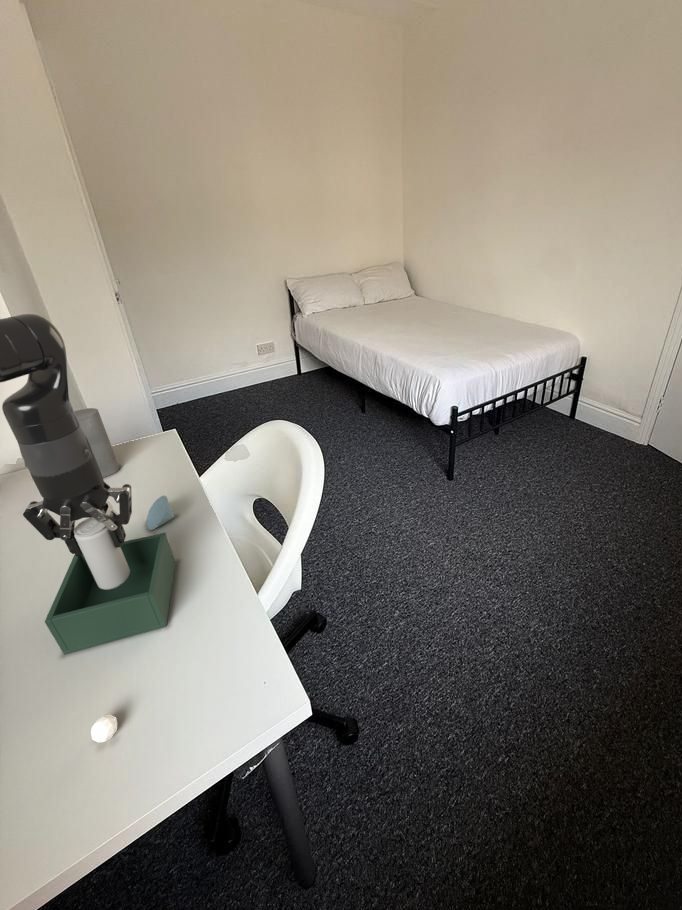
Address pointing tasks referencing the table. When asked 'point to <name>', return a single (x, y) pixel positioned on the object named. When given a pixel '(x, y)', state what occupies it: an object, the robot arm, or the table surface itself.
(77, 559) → the bin
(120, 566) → the beverage can
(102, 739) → the polyhedron
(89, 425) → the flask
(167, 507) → the gemstone
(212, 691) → the table surface
